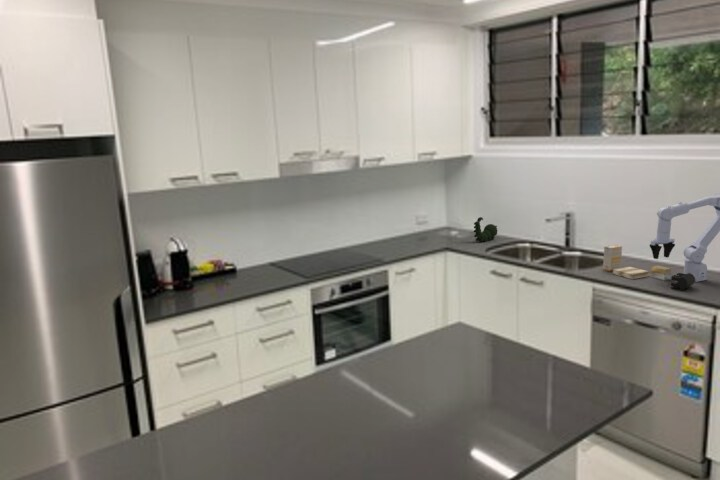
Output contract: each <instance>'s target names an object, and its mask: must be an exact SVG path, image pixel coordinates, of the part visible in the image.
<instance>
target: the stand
mask: <svg viewBox="0 0 720 480" xmlns="http://www.w3.org/2000/svg"><path fill="white" fill-rule="evenodd" d="M612 274H613V275H616V276H619V277H623V278H626V279H631V280H636V279H641V278H647V277H649V276H650V271H649V270H646V269H641V268H637V267H633V266H624V267H621V268H618V269H613V271H612Z"/></svg>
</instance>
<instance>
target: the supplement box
mask: <svg viewBox="0 0 720 480" xmlns="http://www.w3.org/2000/svg"><path fill="white" fill-rule="evenodd" d="M622 253H623V246H622V245H619V244H612V245H604V247H603V265H602V267H603V268H602V270H604V271H608V272H611V271H612V272H613V269H618V268H622V256H623V255H622Z"/></svg>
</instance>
